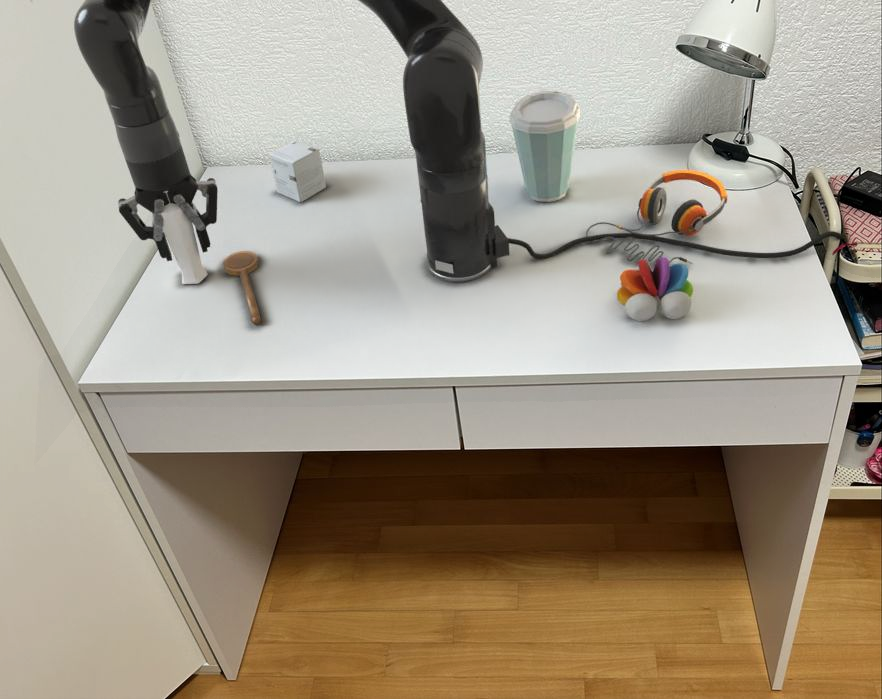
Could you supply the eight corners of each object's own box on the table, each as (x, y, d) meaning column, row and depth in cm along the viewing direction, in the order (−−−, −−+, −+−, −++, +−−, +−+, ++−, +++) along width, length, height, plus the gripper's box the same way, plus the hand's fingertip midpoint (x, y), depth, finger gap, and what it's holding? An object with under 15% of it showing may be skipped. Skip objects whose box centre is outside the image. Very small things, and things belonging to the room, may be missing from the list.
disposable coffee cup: (561, 215, 133) (561, 124, 123) (499, 201, 138) (495, 112, 128) (590, 183, 139) (592, 94, 130) (530, 170, 144) (528, 84, 135)
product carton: (276, 193, 146) (267, 153, 141) (303, 177, 149) (294, 138, 144) (301, 203, 143) (292, 163, 138) (327, 187, 146) (319, 147, 141)
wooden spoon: (222, 260, 132) (220, 254, 131) (255, 252, 132) (254, 245, 132) (239, 331, 118) (237, 324, 117) (276, 321, 119) (275, 314, 118)
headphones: (574, 226, 125) (655, 145, 132) (579, 252, 129) (657, 172, 136) (674, 269, 116) (756, 179, 122) (675, 295, 120) (755, 207, 126)
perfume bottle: (213, 267, 130) (185, 178, 120) (204, 284, 127) (175, 195, 117) (184, 267, 131) (154, 179, 121) (174, 285, 127) (143, 196, 118)
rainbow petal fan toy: (612, 288, 118) (614, 243, 113) (685, 284, 117) (690, 238, 112) (620, 327, 111) (623, 281, 107) (697, 323, 111) (703, 277, 106)
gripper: (97, 171, 111) (139, 280, 122) (208, 146, 114) (239, 254, 125) (96, 147, 116) (136, 252, 128) (202, 123, 119) (232, 229, 130)
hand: (187, 253), depth 126 cm, fingers closed on perfume bottle, 4 cm apart
